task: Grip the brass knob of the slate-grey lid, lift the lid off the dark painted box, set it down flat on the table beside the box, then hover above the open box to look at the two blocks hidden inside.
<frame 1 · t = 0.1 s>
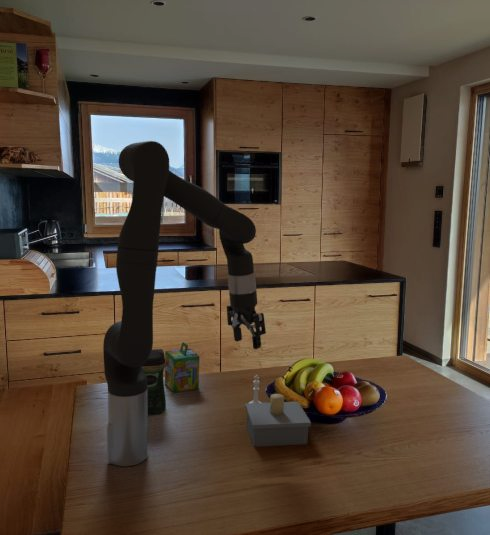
hand: (247, 344, 139), 22 cm above the table, tool pointing down, fingers open, 8 cm apart
box: (275, 437, 132), on the table
lid: (276, 416, 131), point 6 cm above the table, touching box
chalk box: (181, 387, 166), on the table
coffee jar: (149, 411, 147), on the table
cream block: (265, 434, 132), point 1 cm above the table, touching box
chess piece: (255, 407, 151), on the table
sage block: (286, 433, 132), point 1 cm above the table, touching box
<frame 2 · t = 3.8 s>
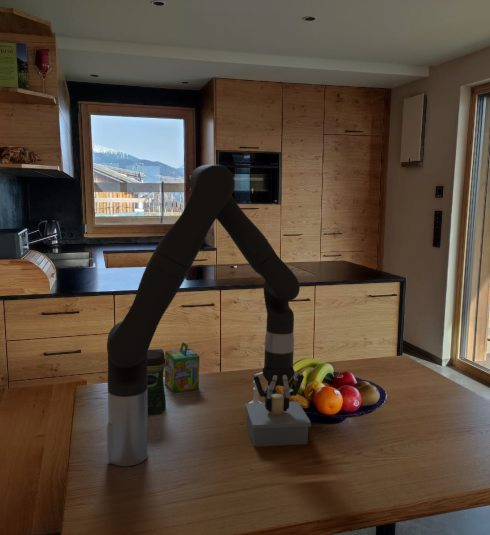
hand: (276, 410, 131), 8 cm above the table, tool pointing down, fingers closed on lid, 3 cm apart
lid: (276, 416, 131), point 6 cm above the table, touching box, gripper
everything else where it was.
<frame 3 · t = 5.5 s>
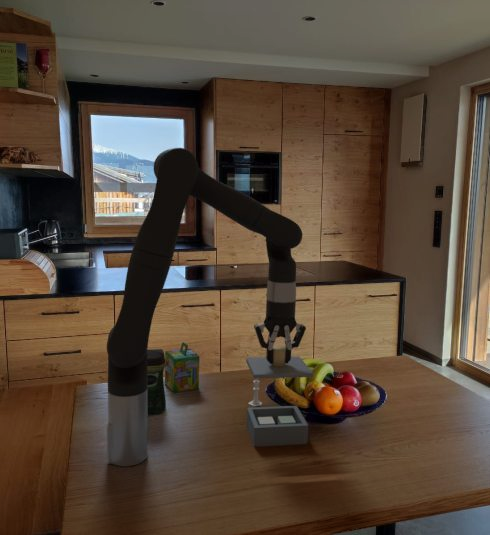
hand: (278, 362, 129), 21 cm above the table, tool pointing down, fingers closed on lid, 3 cm apart
lid: (278, 368, 129), point 19 cm above the table, touching gripper
everything else where it was.
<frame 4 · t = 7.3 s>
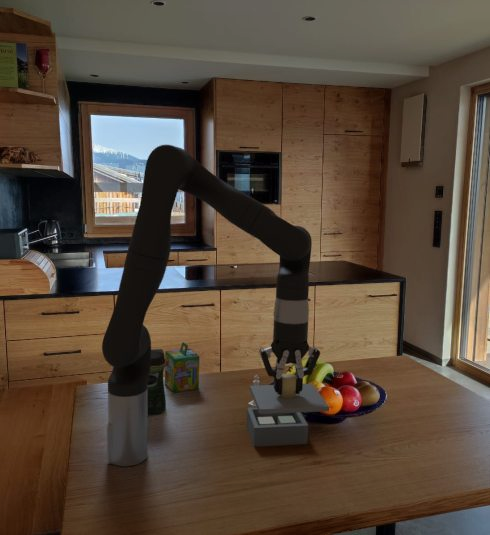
hand: (288, 392, 110), 20 cm above the table, tool pointing down, fingers closed on lid, 3 cm apart
lid: (287, 399, 111), point 19 cm above the table, touching gripper
everything else where it was.
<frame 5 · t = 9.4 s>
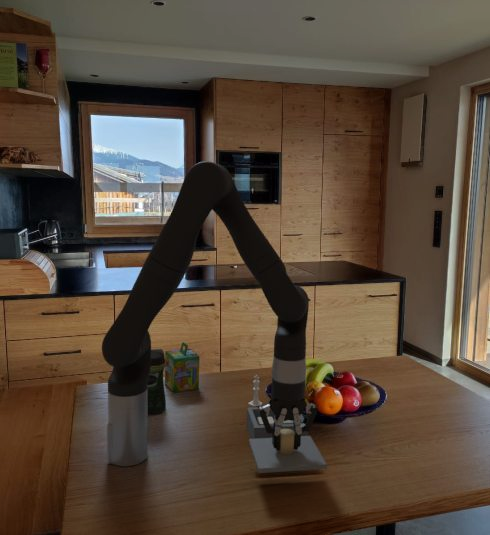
hand: (286, 448, 112), 7 cm above the table, tool pointing down, fingers closed on lid, 3 cm apart
lid: (285, 455, 112), point 6 cm above the table, touching gripper
everything else where it was.
when the fingers open (3 cm above the table, at t = 11.1 s): lid drops 2 cm, on the table.
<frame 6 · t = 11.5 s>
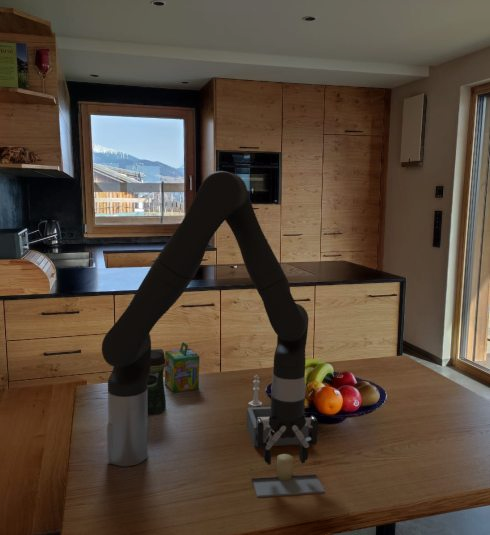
hand: (285, 461, 113), 4 cm above the table, tool pointing down, fingers open, 7 cm apart
lid: (284, 480, 113), on the table
everything else where it was.
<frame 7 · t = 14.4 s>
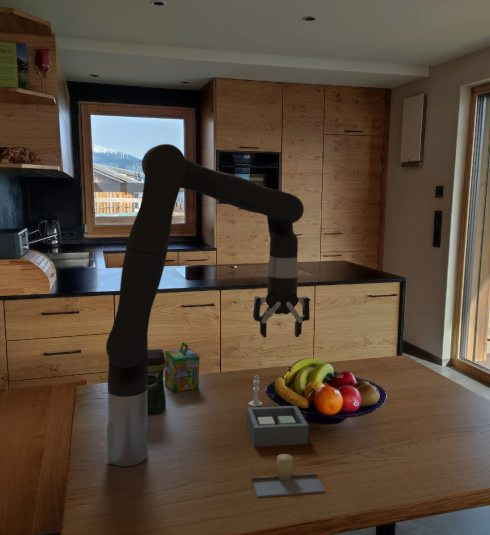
hand: (280, 336, 127), 28 cm above the table, tool pointing down, fingers open, 8 cm apart
nothing on the table moved.
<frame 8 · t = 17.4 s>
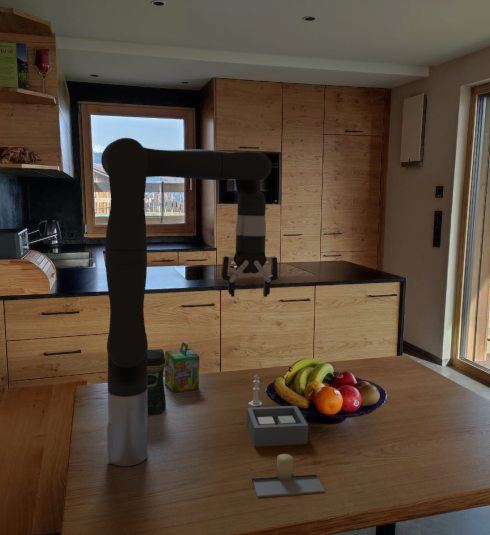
hand: (249, 296, 127), 38 cm above the table, tool pointing down, fingers open, 8 cm apart
nothing on the table moved.
at the end: lid inside the target area (0.1 cm from its centre), on the table; lid touching table; lid tilted 0° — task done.
